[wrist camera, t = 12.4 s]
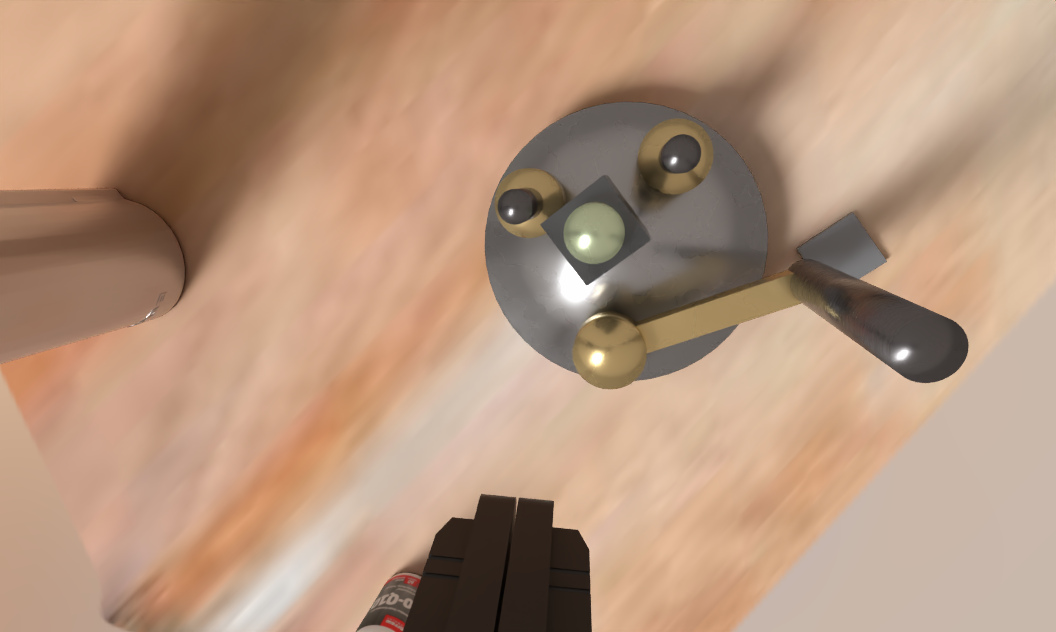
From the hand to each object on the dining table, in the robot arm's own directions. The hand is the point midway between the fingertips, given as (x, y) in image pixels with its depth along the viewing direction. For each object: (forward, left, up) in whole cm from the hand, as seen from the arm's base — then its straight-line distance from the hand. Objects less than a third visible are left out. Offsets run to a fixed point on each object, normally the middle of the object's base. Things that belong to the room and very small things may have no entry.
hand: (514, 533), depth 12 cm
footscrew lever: (+5, +4, -25) cm, 25 cm away
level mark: (+7, +13, -27) cm, 31 cm away
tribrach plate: (-1, +3, -27) cm, 27 cm away
